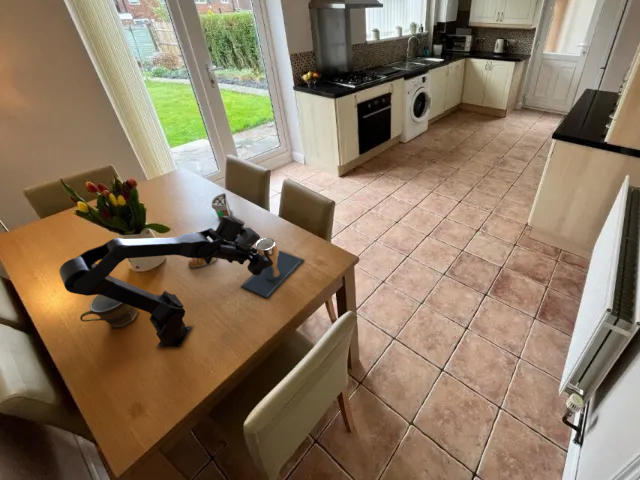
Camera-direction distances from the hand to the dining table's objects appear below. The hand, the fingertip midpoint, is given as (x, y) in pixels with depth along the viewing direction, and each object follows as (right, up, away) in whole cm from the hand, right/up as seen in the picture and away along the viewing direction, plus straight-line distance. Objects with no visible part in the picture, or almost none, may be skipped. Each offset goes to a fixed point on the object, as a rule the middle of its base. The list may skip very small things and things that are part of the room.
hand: (265, 257), depth 112 cm
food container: (-33, +11, +35) cm, 49 cm away
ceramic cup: (-42, -18, -12) cm, 47 cm away
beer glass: (+1, -7, +5) cm, 9 cm away
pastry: (-28, -4, +11) cm, 30 cm away
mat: (+1, -7, +6) cm, 9 cm away
